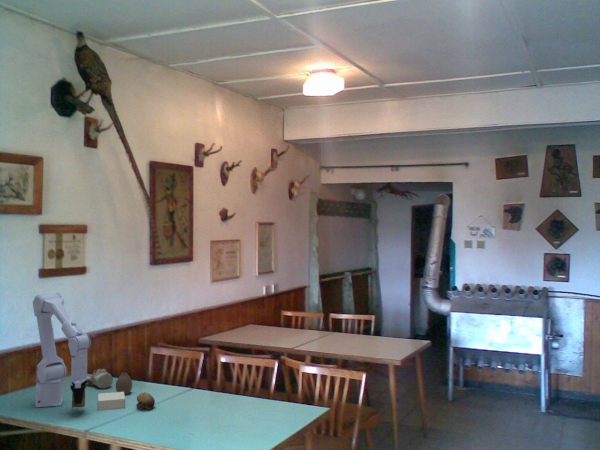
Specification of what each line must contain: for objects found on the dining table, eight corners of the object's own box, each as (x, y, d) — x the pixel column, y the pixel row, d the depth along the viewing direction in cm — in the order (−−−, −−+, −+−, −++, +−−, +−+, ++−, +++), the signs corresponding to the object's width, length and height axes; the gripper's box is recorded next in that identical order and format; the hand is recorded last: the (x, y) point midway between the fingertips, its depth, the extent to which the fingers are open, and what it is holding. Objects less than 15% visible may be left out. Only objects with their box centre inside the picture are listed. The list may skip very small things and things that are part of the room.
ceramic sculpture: (95, 371, 251) (82, 366, 262) (95, 391, 250) (82, 385, 262) (118, 367, 258) (105, 363, 269) (118, 387, 257) (105, 382, 269)
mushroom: (128, 400, 229) (138, 387, 229) (141, 403, 236) (151, 390, 236) (138, 414, 225) (148, 401, 225) (151, 416, 231) (161, 403, 231)
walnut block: (71, 407, 221) (72, 394, 221) (72, 404, 225) (72, 391, 225) (84, 406, 222) (84, 393, 222) (85, 403, 226) (85, 390, 226)
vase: (129, 396, 245) (129, 375, 245) (113, 395, 245) (113, 375, 245) (134, 391, 252) (134, 371, 252) (118, 391, 252) (118, 370, 252)
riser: (98, 411, 227) (98, 401, 227) (98, 403, 236) (98, 393, 236) (124, 408, 230) (125, 398, 230) (123, 401, 239) (123, 391, 239)
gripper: (89, 370, 218) (88, 406, 218) (91, 361, 232) (90, 395, 232) (69, 371, 216) (68, 408, 216) (72, 362, 229) (71, 396, 230)
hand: (78, 401), depth 224 cm, fingers closed on walnut block, 4 cm apart
